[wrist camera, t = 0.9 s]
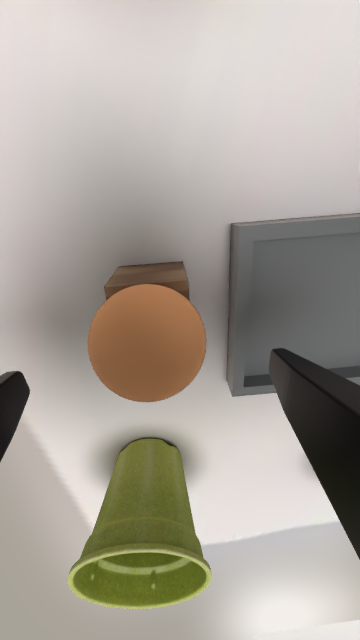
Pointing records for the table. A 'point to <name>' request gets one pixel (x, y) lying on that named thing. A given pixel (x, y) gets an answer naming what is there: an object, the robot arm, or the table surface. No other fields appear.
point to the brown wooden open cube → (149, 277)
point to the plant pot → (143, 535)
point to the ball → (147, 343)
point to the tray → (293, 297)
